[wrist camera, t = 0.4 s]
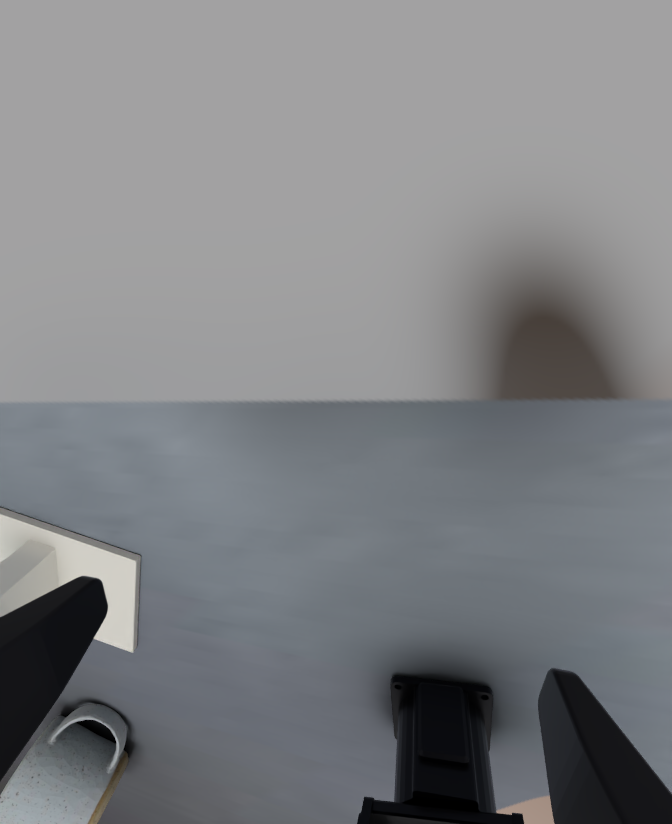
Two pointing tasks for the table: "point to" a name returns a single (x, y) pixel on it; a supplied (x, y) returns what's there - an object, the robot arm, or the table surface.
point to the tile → (27, 575)
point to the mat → (85, 570)
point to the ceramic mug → (67, 772)
